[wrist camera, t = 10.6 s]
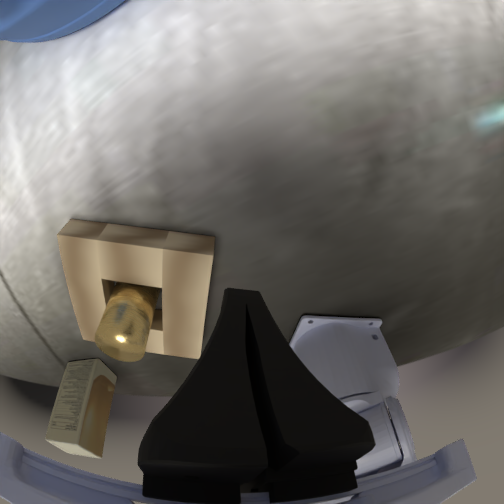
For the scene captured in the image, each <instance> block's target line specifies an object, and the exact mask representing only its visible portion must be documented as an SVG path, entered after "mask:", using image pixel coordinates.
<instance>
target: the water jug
mask: <svg viewBox="0 0 504 504" xmlns="http://www.w3.org/2000/svg"><path fill="white" fill-rule="evenodd" d="M124 1H125V0H0V40H8V41H12V42H43V41H49V40H53V39H56V38H60V37H63V36H65V35H68V34H70V33H73V32H75V31H77V30H79V29H81V28H83V27H85V26H87V25H89V24H91V23H93V22H94V21H96V20H98V19H99V18H101V17H102V16H104V15H106V14H107V13H109V12H110V11H111V10H113V9H114V8H116V7H117V6H118V5H120V4H121V3H122V2H124Z"/></svg>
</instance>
